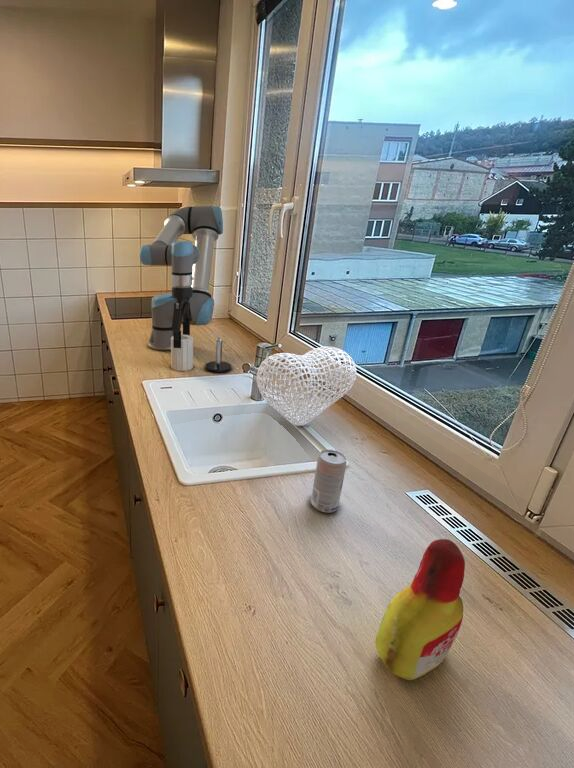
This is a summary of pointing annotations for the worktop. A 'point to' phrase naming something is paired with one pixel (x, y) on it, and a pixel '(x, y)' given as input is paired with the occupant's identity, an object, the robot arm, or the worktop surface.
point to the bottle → (424, 614)
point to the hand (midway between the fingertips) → (181, 342)
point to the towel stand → (218, 361)
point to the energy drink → (328, 480)
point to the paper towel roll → (182, 354)
